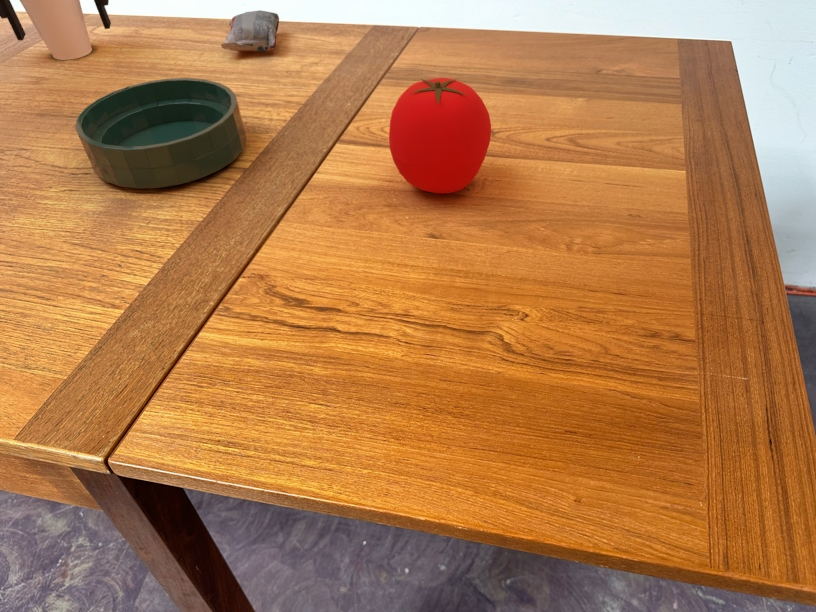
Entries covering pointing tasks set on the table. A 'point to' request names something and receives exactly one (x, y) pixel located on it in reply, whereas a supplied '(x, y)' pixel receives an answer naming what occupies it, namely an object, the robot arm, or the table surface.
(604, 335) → the table surface
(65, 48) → the foam cup
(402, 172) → the tomato
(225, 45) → the packaged food
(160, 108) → the bowl
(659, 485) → the table surface
